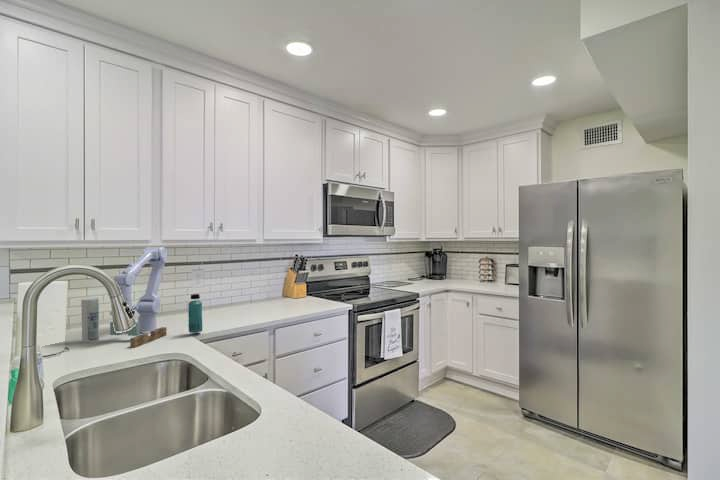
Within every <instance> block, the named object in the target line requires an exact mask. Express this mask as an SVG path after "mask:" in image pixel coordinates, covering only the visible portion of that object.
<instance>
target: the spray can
mask: <svg viewBox="0 0 720 480" xmlns="http://www.w3.org/2000/svg"><path fill="white" fill-rule="evenodd" d="M99 301H100V300H99V297H85V298H82V299H81V301H80V302H81V304H80V305H81V306H80V307H81V308H80V309H81V337H82V338H81V339H82V343H84V344H86V343H95V342H98V341H99V340H100V330H99V329H100V327H99V326H100V322H99V321H100V319H99V316H100V314H99V313H100V312H99V311H100V310H99V309H100V308H99V305H100V303H99Z"/></svg>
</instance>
